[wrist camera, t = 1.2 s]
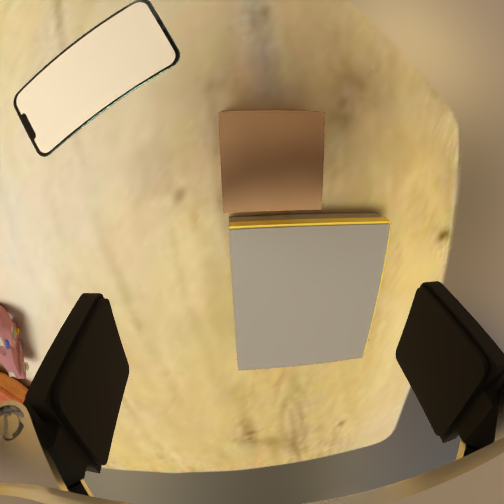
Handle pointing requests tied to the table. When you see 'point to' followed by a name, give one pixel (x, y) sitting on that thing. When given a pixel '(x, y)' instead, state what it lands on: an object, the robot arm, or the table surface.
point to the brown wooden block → (271, 160)
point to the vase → (11, 389)
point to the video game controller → (11, 347)
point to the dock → (305, 286)
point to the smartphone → (94, 74)
